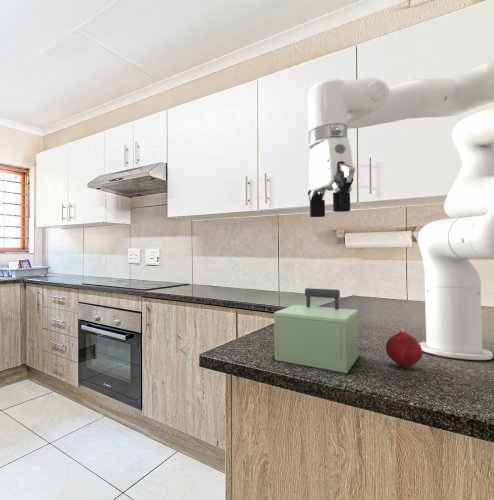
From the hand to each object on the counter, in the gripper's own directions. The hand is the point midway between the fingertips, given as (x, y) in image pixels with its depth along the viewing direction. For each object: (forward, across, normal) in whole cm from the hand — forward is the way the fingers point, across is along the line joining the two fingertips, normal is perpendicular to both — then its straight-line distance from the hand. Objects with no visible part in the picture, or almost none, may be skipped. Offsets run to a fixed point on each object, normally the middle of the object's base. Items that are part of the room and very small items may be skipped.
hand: (328, 214), depth 77 cm
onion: (+33, -5, -12) cm, 35 cm away
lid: (+23, +2, +2) cm, 23 cm away
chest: (+32, +1, +2) cm, 33 cm away
